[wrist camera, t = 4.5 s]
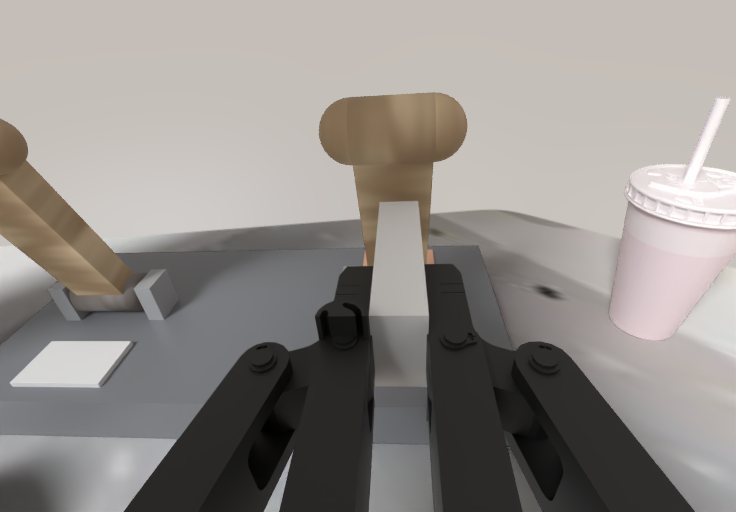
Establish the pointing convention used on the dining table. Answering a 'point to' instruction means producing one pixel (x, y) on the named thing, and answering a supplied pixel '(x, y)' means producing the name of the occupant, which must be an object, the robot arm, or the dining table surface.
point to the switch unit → (197, 342)
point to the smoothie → (673, 239)
